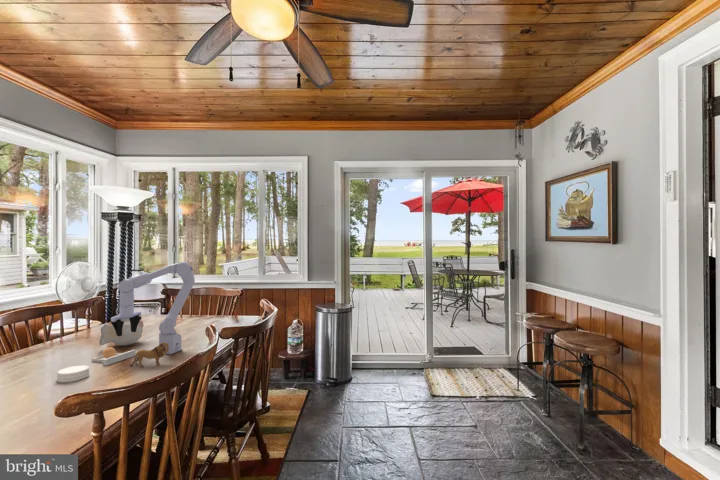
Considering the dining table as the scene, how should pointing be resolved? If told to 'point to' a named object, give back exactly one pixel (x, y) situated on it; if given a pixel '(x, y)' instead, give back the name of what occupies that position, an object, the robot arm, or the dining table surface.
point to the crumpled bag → (127, 336)
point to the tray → (100, 358)
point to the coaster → (73, 373)
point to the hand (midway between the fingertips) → (126, 333)
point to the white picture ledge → (119, 357)
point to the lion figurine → (151, 354)
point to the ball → (109, 352)
